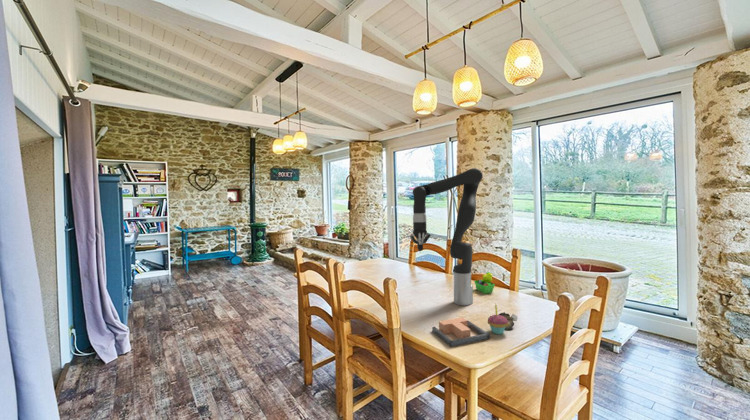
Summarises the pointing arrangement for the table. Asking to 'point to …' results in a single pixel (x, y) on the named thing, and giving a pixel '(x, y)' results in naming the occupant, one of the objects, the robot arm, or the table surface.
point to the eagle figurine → (509, 320)
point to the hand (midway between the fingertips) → (420, 250)
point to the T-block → (455, 327)
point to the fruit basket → (485, 284)
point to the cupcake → (497, 323)
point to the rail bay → (463, 341)
